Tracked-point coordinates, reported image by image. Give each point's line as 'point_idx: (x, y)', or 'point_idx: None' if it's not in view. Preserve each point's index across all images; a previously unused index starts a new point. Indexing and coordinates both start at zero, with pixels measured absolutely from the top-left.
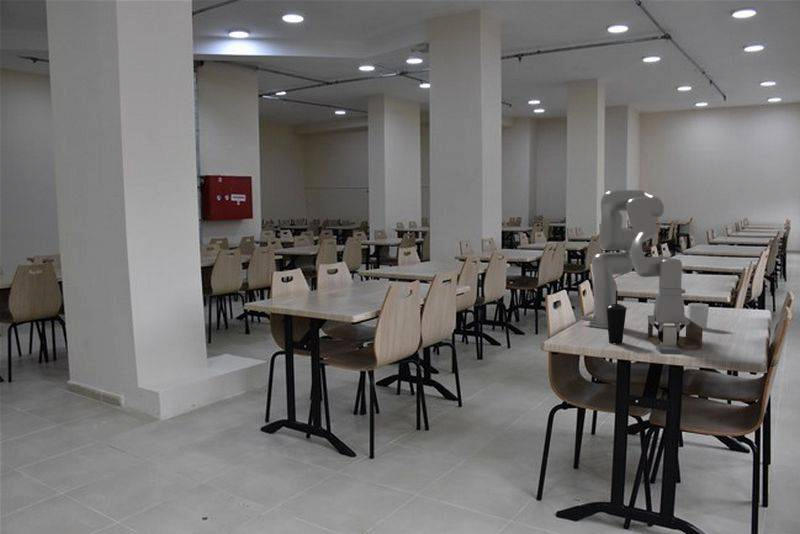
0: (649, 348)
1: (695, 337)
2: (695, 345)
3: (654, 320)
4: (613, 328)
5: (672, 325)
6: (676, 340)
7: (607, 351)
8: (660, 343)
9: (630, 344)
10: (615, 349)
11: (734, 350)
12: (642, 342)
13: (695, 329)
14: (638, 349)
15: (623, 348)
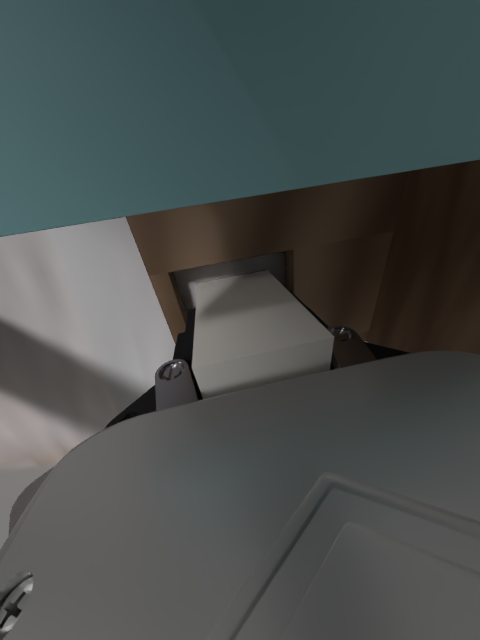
0: (151, 374)
1: (412, 296)
2: (360, 326)
3: (10, 234)
4: None
5: (319, 343)
6: None
7: (3, 466)
8: (197, 288)
9: (18, 320)
10: (12, 435)
11: None
12: (66, 227)
13: (477, 314)
14: (109, 404)
15: (36, 411)
